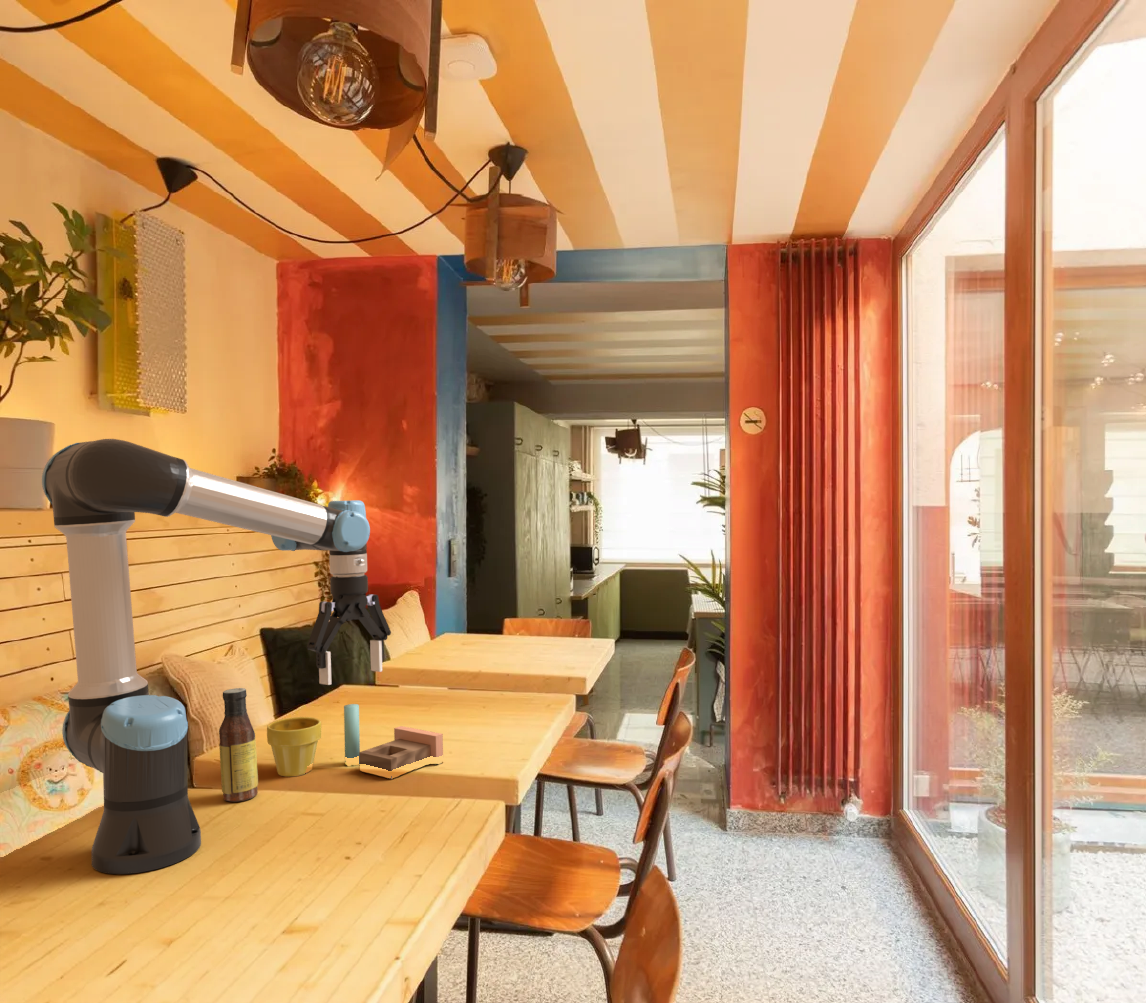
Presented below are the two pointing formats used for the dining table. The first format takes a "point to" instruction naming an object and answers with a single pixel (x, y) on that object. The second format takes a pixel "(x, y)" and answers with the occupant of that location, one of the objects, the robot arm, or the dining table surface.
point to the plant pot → (294, 743)
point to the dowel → (351, 730)
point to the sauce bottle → (237, 749)
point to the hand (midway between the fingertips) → (351, 677)
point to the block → (395, 754)
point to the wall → (421, 738)
